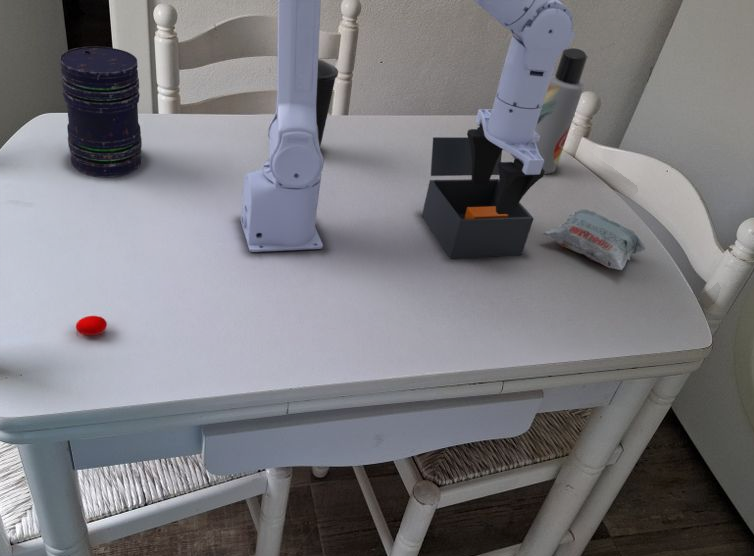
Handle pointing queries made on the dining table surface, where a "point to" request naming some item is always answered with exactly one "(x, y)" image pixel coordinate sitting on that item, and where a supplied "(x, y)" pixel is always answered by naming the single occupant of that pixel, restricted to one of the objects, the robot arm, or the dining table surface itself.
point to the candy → (91, 325)
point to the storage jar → (102, 110)
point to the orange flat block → (483, 213)
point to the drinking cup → (324, 94)
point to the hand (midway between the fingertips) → (491, 197)
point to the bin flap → (453, 157)
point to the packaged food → (597, 239)
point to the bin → (473, 220)
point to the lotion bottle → (560, 107)
